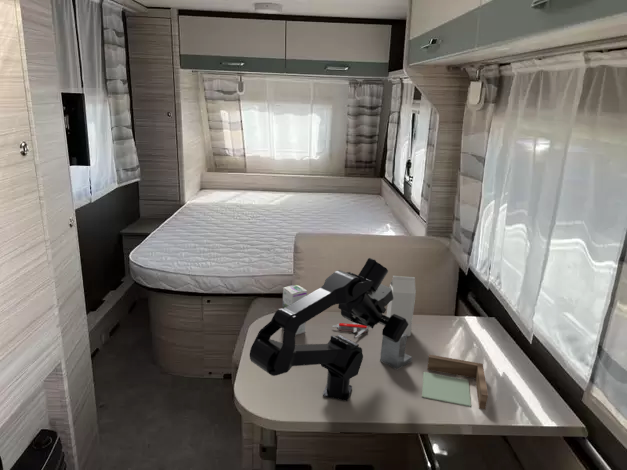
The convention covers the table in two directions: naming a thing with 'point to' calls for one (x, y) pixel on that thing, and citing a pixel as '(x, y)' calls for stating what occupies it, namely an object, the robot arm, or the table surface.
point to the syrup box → (294, 300)
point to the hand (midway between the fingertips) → (384, 331)
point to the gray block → (395, 352)
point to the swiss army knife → (352, 328)
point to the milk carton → (402, 299)
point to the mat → (446, 389)
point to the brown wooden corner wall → (462, 373)
